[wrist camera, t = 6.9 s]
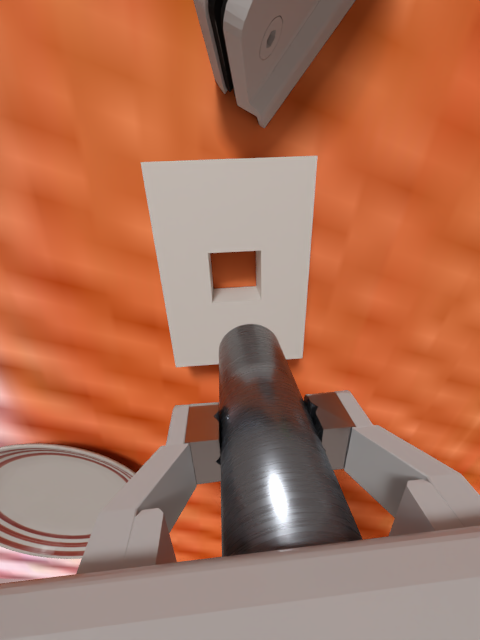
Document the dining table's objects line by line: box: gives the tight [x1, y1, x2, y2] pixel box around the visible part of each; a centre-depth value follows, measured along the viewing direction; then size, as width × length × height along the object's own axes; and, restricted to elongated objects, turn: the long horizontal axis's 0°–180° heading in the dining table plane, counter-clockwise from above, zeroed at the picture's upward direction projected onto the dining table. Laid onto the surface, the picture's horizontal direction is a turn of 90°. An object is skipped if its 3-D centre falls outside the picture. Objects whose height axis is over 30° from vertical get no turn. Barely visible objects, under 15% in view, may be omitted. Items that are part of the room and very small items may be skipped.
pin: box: [219, 324, 362, 557], centre depth 9 cm, size 3×3×9 cm
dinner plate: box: [0, 443, 136, 559], centre depth 39 cm, size 28×27×3 cm
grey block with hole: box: [141, 156, 317, 367], centre depth 25 cm, size 13×18×4 cm
